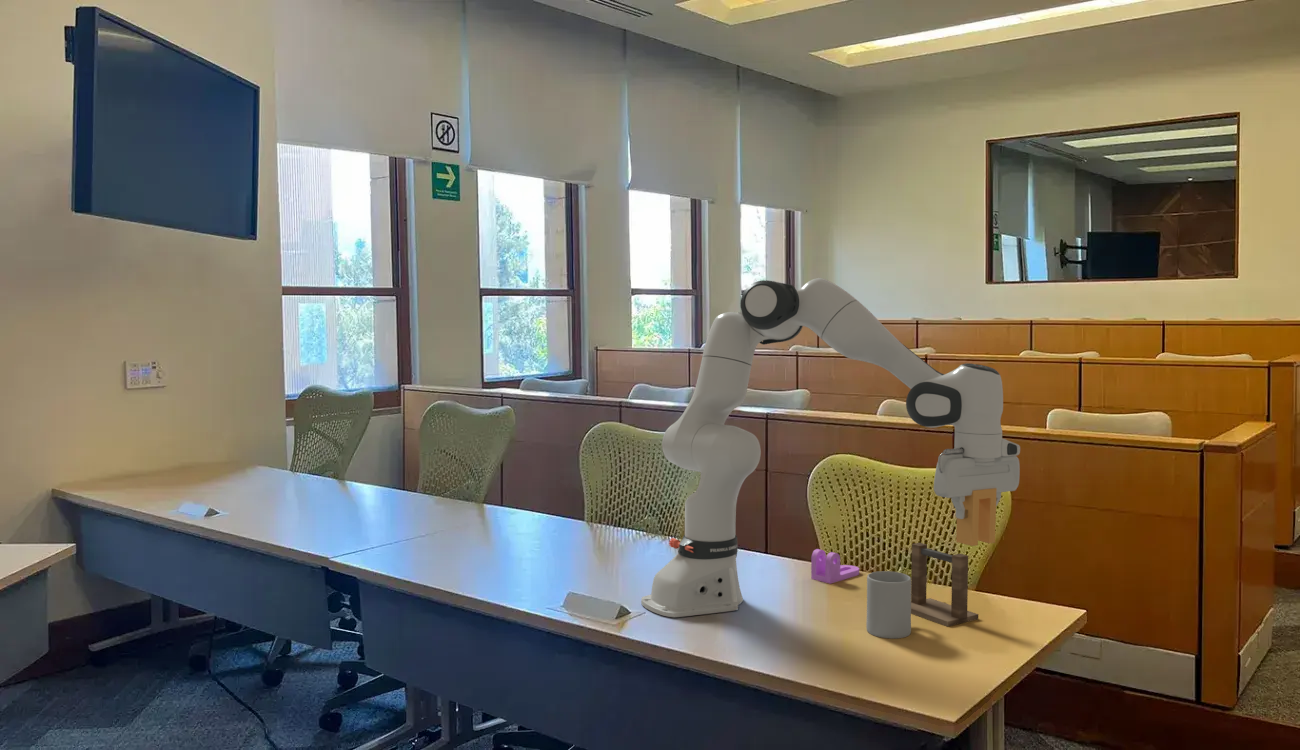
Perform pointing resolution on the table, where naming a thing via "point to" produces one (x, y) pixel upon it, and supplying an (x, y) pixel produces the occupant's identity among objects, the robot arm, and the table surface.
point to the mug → (888, 604)
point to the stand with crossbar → (958, 606)
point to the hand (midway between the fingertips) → (975, 516)
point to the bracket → (830, 567)
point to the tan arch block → (978, 518)
